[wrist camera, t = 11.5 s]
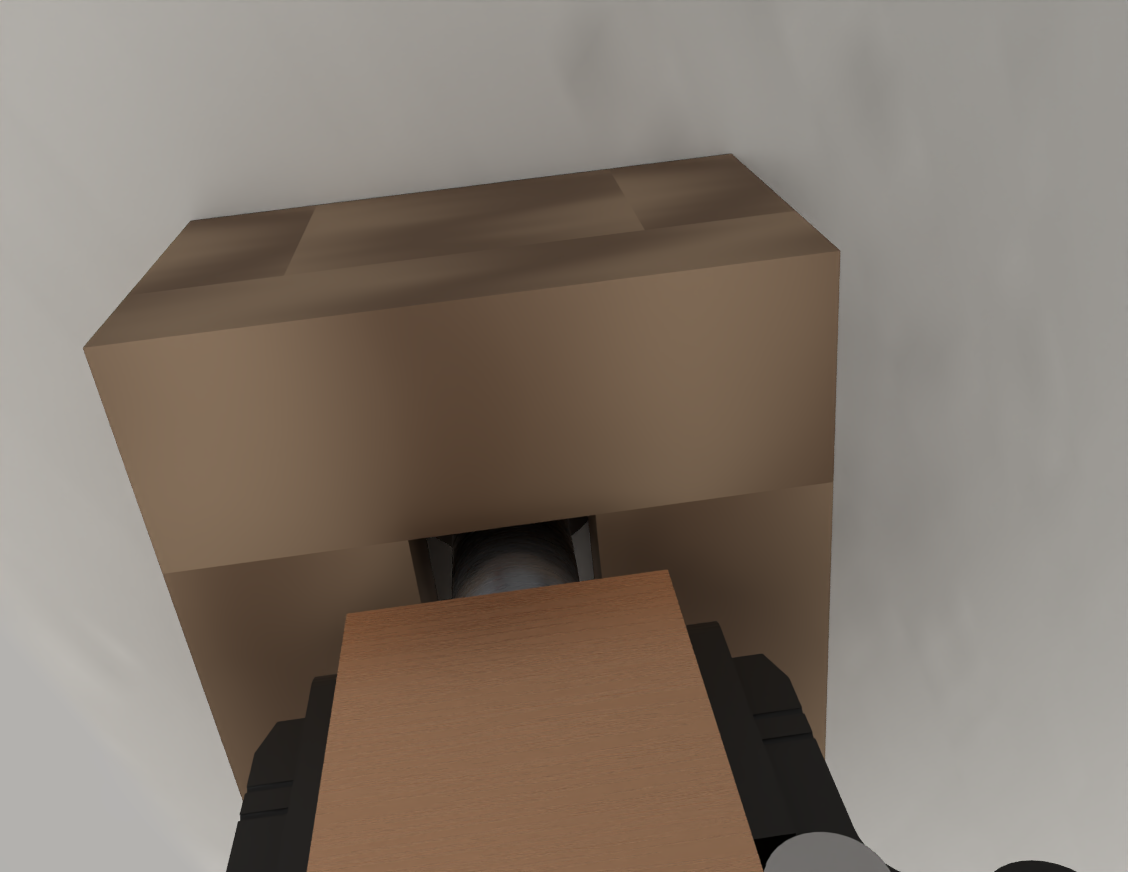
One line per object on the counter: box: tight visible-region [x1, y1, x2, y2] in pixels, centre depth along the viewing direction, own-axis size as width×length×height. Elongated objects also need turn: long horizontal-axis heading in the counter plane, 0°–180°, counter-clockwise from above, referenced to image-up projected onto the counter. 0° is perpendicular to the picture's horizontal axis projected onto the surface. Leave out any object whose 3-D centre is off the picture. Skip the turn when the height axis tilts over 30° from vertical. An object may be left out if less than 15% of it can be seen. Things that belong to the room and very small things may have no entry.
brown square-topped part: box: [307, 516, 763, 872], centre depth 15 cm, size 4×4×13 cm
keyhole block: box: [83, 154, 840, 800], centre depth 20 cm, size 10×16×6 cm, turn 6°
